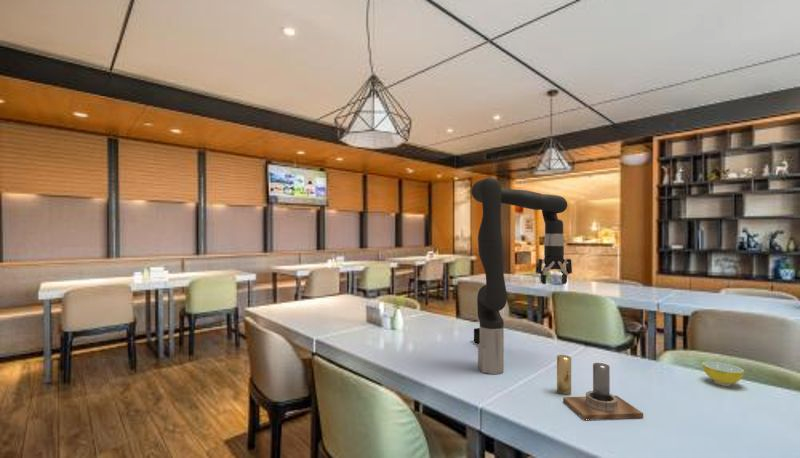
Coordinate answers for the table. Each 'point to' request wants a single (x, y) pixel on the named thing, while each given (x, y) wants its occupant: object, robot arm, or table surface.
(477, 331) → the digital camera
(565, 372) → the brass peg
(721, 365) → the bowl
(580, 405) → the socket board
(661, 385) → the table surface
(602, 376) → the steel peg
